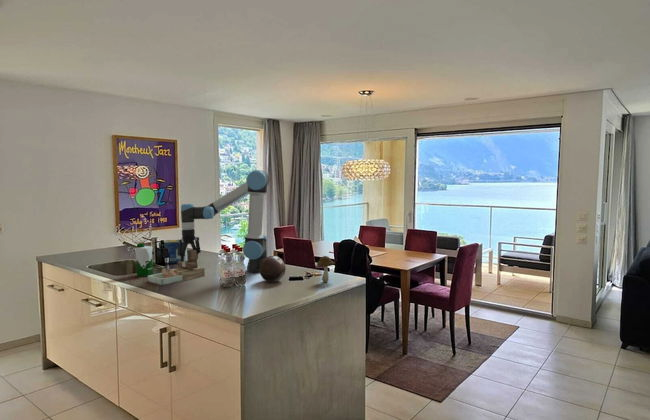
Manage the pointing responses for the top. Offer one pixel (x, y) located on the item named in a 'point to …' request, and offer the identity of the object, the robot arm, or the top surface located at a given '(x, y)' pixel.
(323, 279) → the mushroom
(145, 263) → the milk carton
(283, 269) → the wooden sphere
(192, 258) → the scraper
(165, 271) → the tile
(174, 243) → the protein box
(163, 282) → the tray
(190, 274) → the bench plate
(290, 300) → the top surface
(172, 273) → the tile
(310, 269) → the top surface
